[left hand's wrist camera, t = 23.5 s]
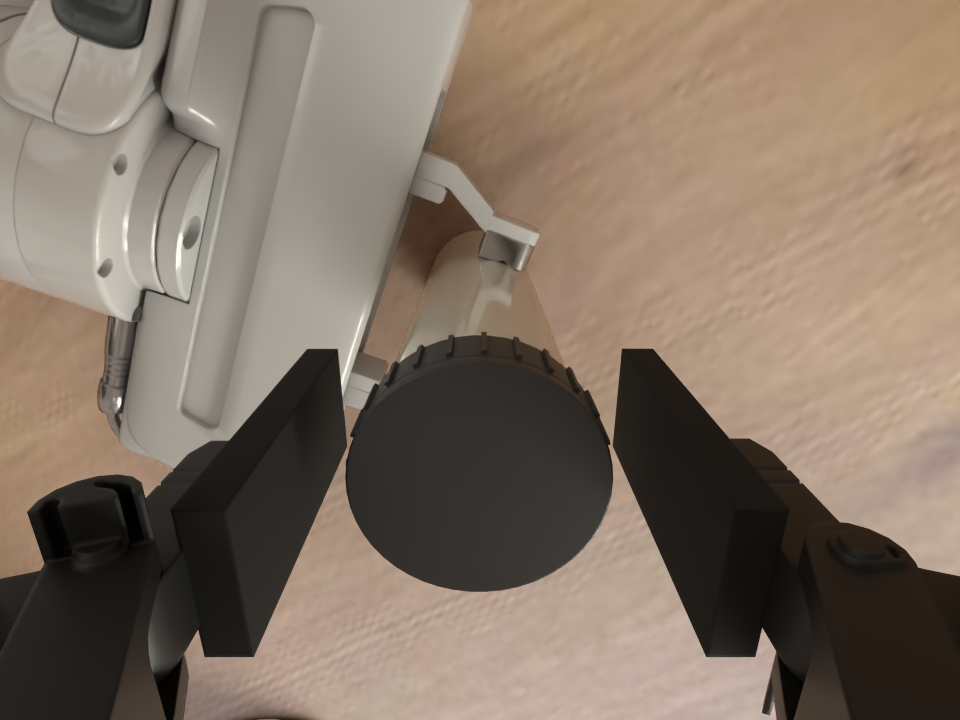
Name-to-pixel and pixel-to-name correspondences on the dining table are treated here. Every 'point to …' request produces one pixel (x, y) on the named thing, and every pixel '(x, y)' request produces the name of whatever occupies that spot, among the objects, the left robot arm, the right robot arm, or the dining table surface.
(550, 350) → the beige bottle
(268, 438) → the left robot arm
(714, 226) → the dining table surface
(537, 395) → the lid
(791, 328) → the dining table surface
